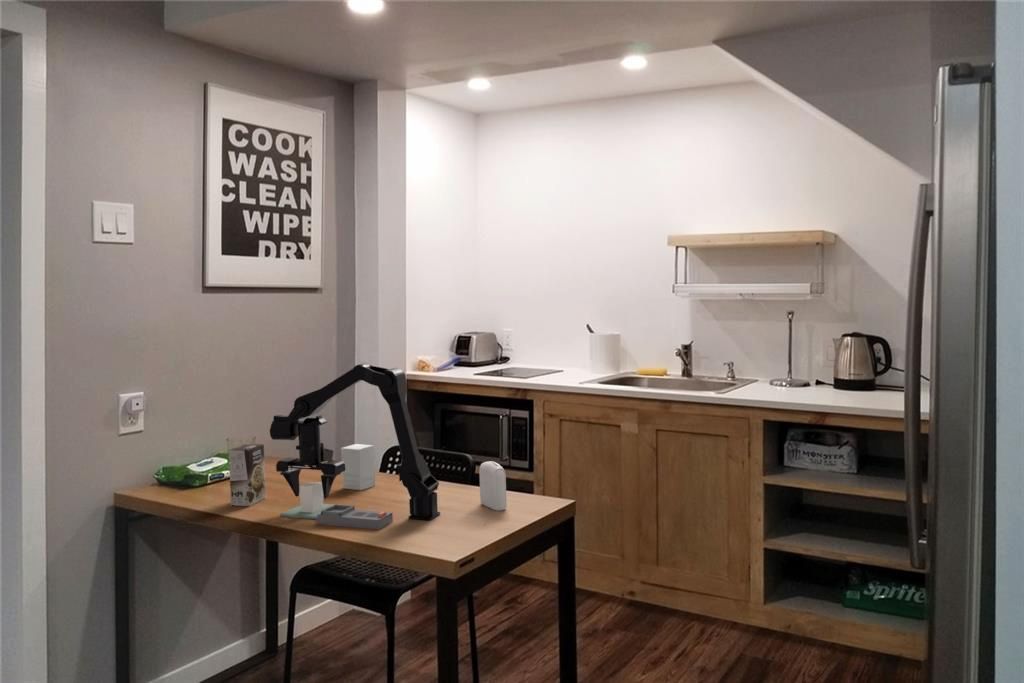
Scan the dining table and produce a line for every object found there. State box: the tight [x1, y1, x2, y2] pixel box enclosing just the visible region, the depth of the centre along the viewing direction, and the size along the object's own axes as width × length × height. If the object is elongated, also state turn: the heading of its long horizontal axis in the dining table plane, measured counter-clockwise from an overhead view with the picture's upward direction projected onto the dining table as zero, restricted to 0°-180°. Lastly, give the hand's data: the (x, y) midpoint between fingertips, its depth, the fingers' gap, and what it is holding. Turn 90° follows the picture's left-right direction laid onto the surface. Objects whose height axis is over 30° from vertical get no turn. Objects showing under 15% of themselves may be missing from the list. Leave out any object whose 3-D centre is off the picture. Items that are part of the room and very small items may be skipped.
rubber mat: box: [279, 503, 334, 520], centre depth 219 cm, size 12×12×1 cm
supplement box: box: [340, 443, 377, 491], centre depth 246 cm, size 7×7×13 cm
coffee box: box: [228, 443, 267, 507], centre depth 231 cm, size 9×6×16 cm
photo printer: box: [478, 460, 508, 511], centre depth 220 cm, size 10×4×12 cm, turn 27°
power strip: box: [316, 503, 394, 530], centre depth 208 cm, size 18×7×3 cm, turn 70°
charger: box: [299, 481, 324, 513], centre depth 219 cm, size 4×5×7 cm
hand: (311, 497), depth 219 cm, fingers open, 9 cm apart
